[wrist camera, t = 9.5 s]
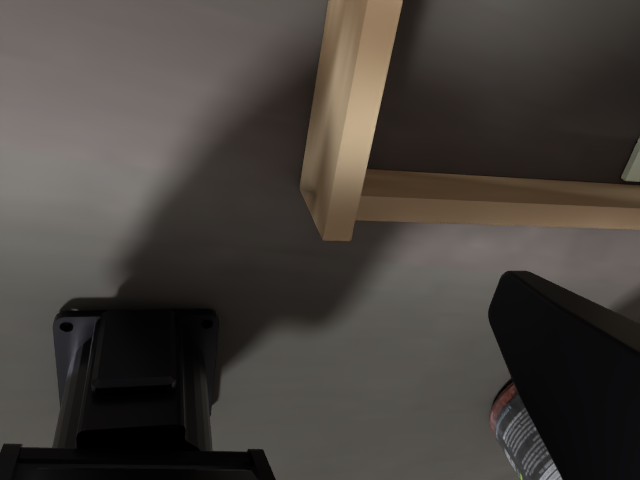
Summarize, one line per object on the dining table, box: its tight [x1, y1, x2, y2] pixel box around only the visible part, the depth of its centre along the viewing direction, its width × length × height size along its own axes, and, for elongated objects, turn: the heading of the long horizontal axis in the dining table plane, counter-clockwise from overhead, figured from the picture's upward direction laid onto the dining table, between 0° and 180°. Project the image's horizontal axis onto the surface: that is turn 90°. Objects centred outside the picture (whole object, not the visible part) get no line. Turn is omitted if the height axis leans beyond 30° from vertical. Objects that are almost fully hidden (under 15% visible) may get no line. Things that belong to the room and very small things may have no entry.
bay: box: [299, 0, 640, 241], centre depth 20 cm, size 14×21×4 cm, turn 81°
